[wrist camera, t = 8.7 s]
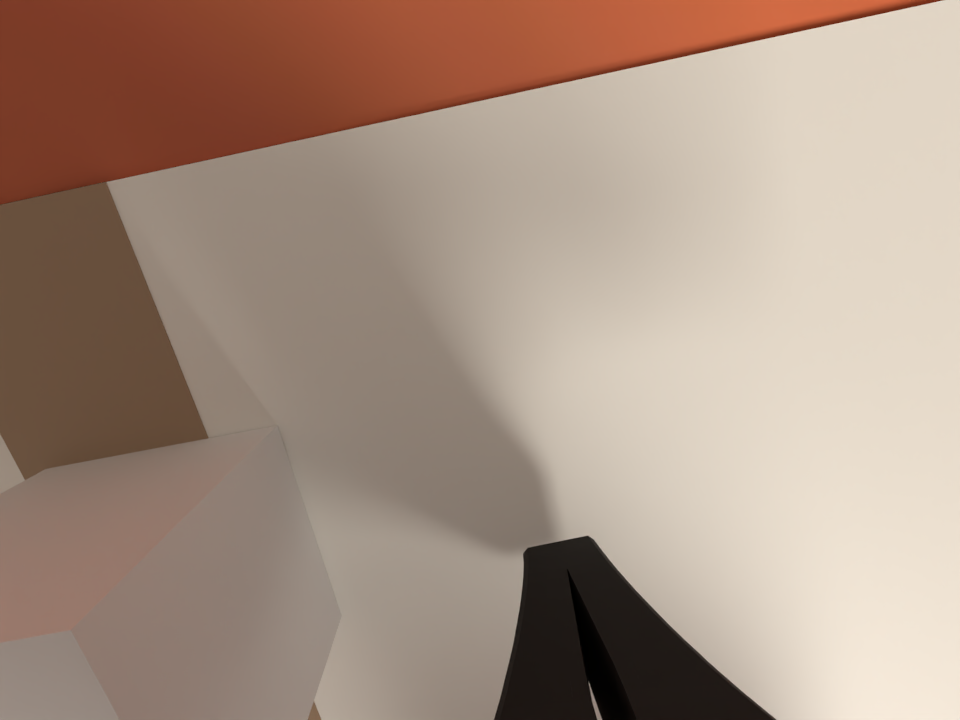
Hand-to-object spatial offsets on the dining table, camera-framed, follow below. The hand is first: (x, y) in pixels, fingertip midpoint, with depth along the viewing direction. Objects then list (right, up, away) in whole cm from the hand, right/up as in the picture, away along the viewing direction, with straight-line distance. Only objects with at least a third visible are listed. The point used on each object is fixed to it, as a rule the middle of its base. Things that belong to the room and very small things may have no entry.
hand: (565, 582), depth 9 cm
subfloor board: (-3, 0, +1) cm, 3 cm away
